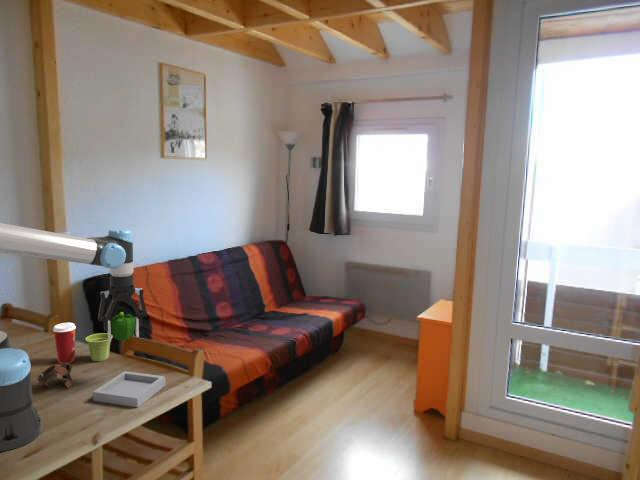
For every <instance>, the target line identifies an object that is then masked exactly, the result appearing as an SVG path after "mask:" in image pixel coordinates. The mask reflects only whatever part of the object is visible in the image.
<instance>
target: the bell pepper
mask: <svg viewBox="0 0 640 480" xmlns="http://www.w3.org/2000/svg"><path fill="white" fill-rule="evenodd" d="M135 317H136V316H134V315H131V313H128V314H127V313H126V314H125V313H124V312H123V311H120V312H119V314H115V316H112V317H110V318H109V320H110V325H111V335H112V336H113V337H112V338H113V339H115V340H118V341H123V342H124V341H127V340H129V339H130V338H132V337H134V335H135V332H136V330H135V327H136V318H135Z"/></svg>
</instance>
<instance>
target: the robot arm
mask: <svg viewBox="0 0 640 480" xmlns="http://www.w3.org/2000/svg"><path fill="white" fill-rule="evenodd" d="M0 253H3V254H9V255H18V256H24V257H25V256H26V257H33V258H41V259H49V260H55V261H56V260H57V261H64V262H71V263H76V264H77V263H78V264H83V265H84V264H86V265H90V266H97V267H103V268H105V269H109V274H110V276H109V288H108V290H105V291H103V290H101V291H100V293H99V294H100V303H99V308H98V315H97V321H98V322H103V329H104V332H107V334H108V341H111V342H112V339H111V335H112V332H111V325H110V319H111V315H112V313H113V311H114V309H115V308H116V305H117V303H118V302H119V303H120V302H123V301H124V302H127V301H128V302H129V303H130V306H131V307H132V308H133V311H134V312H135V315H136V316H135V318H136V327H135V337H136V338H140V330H139V328H141V327H142V326H143V318H144V317H147V316H148V311H147V308H146V304H145V299H144V292H145V291H144V289H143V288H142V287H140V288H136V287H135V280H134V279H135V278H134V274H133V273H134V239H133V231H131V229H129V228H113V229H109V230H108V234H107V235H105V236H94V237H93V236H91V237H80V236H74V235H69V234H64V233H58V232H53V231H48V230H42V229H35V228H31V227H25V226H19V225H13V224H8V223H3V222H0ZM134 293H136V295H137V296H138V299H139V300H138V301H139V303H140V308H141V312H140V310H139V308H138V307H137V304H135V301H134V300H133V298H132V297H133V296H134V295H135V294H134ZM109 295H110V296H111V297H112V299H111V301H110V304H109V306H108V308H107V311H106V312H105V314H104V311H105V306H106V300H107V298H108V297H109ZM31 367H32V365H31V361H30V357H29V355H28V353H27V352H26V351H25V350H23V349H19V348H16V349H15V348H12V345H11V343H10V340H9V337H8V334H7V333H6V332H5V331H2V330H0V452H6V451H11V450H13V449H16V448H20V447H22V446H25V445H28V444H29V443H31V442H32V441H34V440H35V439H36V438H37V437H39V436H40V434H41V433H42V431H43V423H42V419H41V416H40V415H39V412H38V411H37V409H36V408H35V404H34V401H33V390H32V389H33V387H32V385H33V384H32V375H31V371H32V370H31Z"/></svg>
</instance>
